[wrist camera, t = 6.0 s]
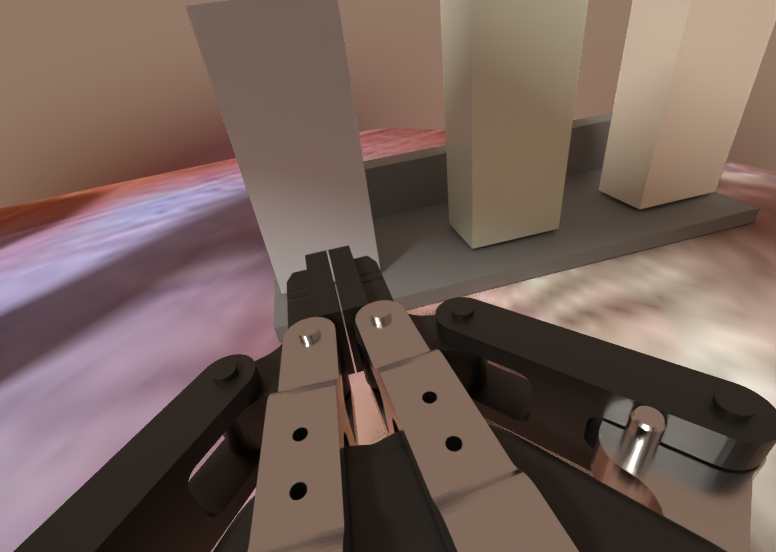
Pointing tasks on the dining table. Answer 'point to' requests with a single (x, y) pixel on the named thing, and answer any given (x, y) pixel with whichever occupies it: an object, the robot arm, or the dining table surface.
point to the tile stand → (521, 255)
